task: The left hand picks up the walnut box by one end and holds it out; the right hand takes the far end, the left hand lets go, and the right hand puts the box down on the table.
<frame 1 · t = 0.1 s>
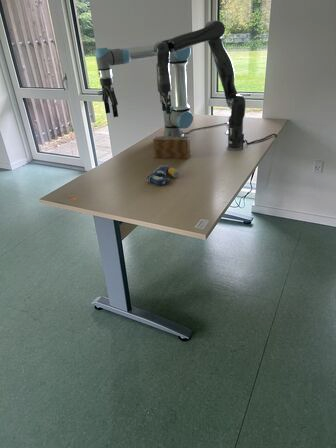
left hand: (111, 115, 206), 28 cm above the table, tool pointing down, fingers open, 13 cm apart
right hand: (166, 112, 195), 29 cm above the table, tool pointing down, fingers open, 8 cm apart
spoon: (232, 127, 260), on the table
box: (172, 156, 214), on the table
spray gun: (164, 178, 186), on the table
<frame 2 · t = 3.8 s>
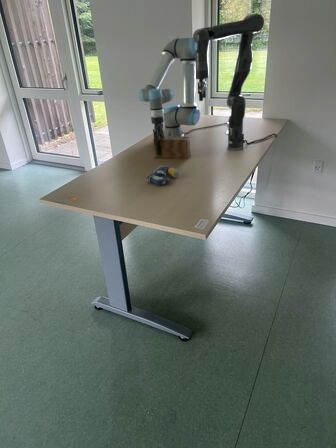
left hand: (160, 152, 215), 3 cm above the table, tool pointing down, fingers closed on box, 6 cm apart
right hand: (202, 99, 198), 34 cm above the table, tool pointing down, fingers open, 8 cm apart
box: (172, 156, 214), on the table, touching left hand
everything else where it was.
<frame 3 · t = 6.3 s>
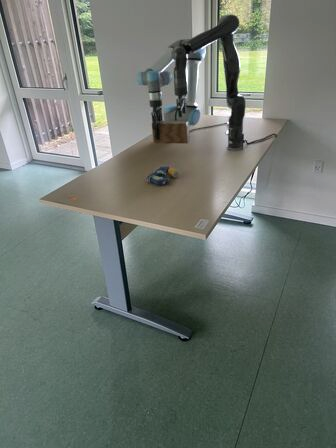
left hand: (159, 137, 210), 12 cm above the table, tool pointing down, fingers closed on box, 6 cm apart
right hand: (182, 115, 199), 26 cm above the table, tool pointing down, fingers open, 8 cm apart
box: (171, 141, 209), point 10 cm above the table, touching left hand
everything else where it was.
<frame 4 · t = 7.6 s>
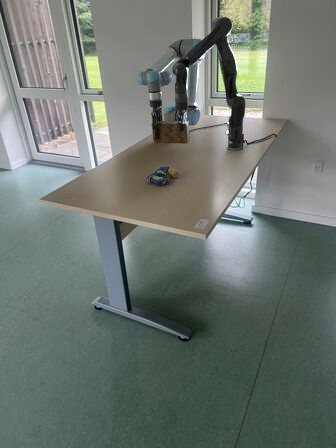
left hand: (159, 137, 210), 12 cm above the table, tool pointing down, fingers closed on box, 6 cm apart
right hand: (183, 129, 203), 18 cm above the table, tool pointing down, fingers closed on box, 5 cm apart
box: (171, 141, 209), point 10 cm above the table, touching left hand, right hand
everything else where it was.
when the left hand's fingers open (12 cm above the table, at t = 8.7 s): box stays where it is, held by the right hand.
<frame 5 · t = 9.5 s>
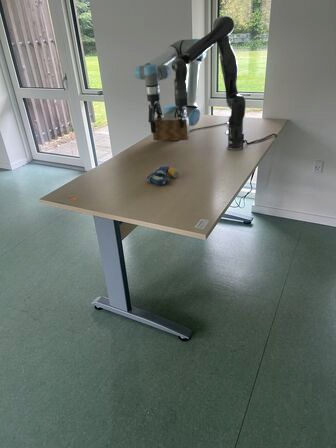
left hand: (156, 129, 208), 18 cm above the table, tool pointing down, fingers open, 13 cm apart
right hand: (183, 125, 202), 20 cm above the table, tool pointing down, fingers closed on box, 5 cm apart
box: (171, 138, 208), point 12 cm above the table, touching right hand
everything else where it was.
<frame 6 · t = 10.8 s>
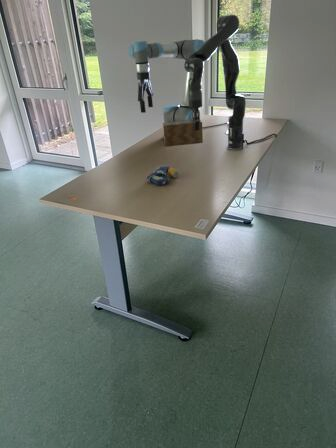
left hand: (147, 109, 203), 30 cm above the table, tool pointing down, fingers open, 13 cm apart
right hand: (196, 128, 192), 21 cm above the table, tool pointing down, fingers closed on box, 5 cm apart
box: (183, 143, 196), point 13 cm above the table, touching right hand
everything else where it was.
when the right hand's fingers open (9 cm above the table, at t = 14.0 s): box drops 1 cm, on the table.
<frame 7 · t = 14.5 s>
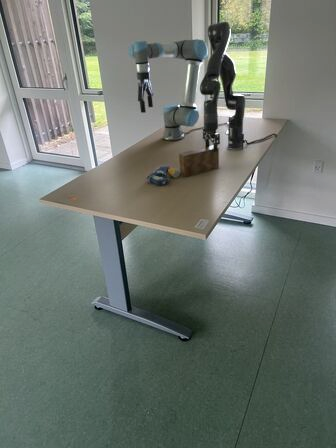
left hand: (147, 109, 203), 30 cm above the table, tool pointing down, fingers open, 13 cm apart
right hand: (211, 149, 188), 11 cm above the table, tool pointing down, fingers open, 8 cm apart
box: (199, 170, 191), on the table
everything else where it was.
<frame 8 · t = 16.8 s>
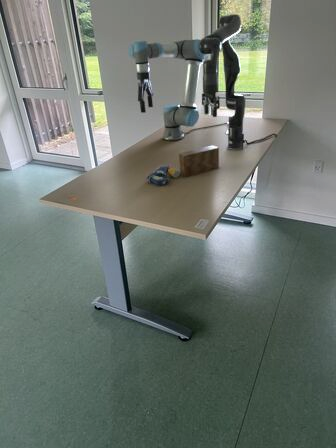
left hand: (147, 109, 203), 30 cm above the table, tool pointing down, fingers open, 13 cm apart
right hand: (210, 115, 178), 30 cm above the table, tool pointing down, fingers open, 8 cm apart
nothing on the table moved.
at the end: box inside the target area (7.5 cm from its centre), on the table; the left hand is holding nothing; the right hand is holding nothing; box at rest at the end (0.0 cm/s) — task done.
